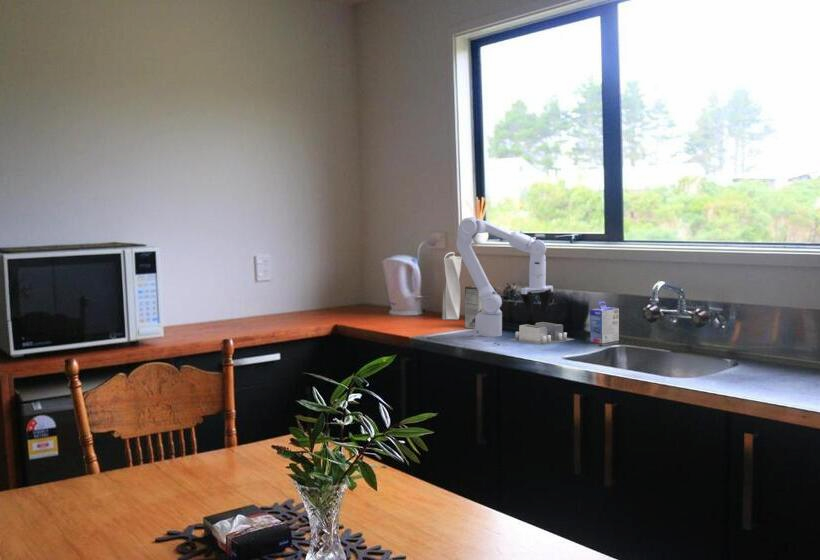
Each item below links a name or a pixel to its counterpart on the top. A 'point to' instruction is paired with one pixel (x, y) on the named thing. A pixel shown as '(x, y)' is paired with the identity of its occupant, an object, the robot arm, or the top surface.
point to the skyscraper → (452, 288)
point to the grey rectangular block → (532, 333)
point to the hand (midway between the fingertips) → (537, 312)
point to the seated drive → (552, 329)
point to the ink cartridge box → (604, 324)
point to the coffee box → (472, 306)
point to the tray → (544, 339)
